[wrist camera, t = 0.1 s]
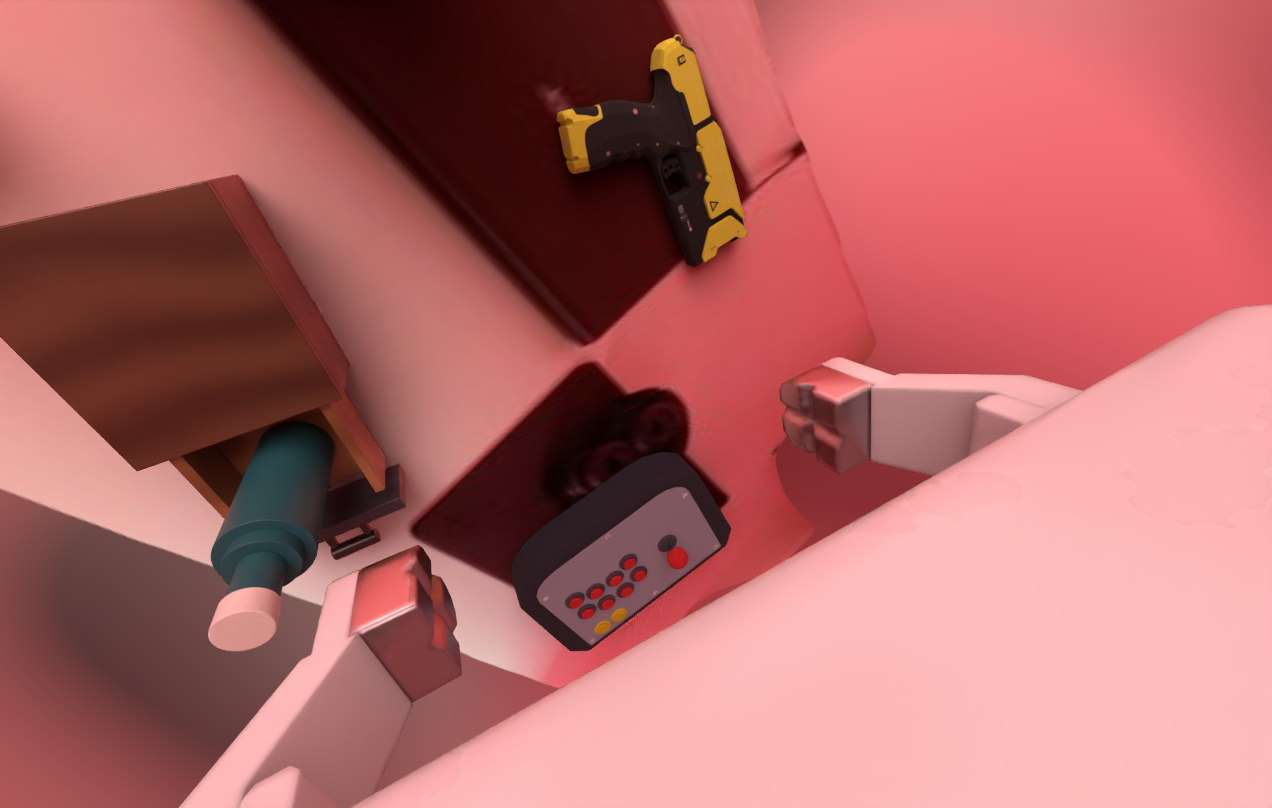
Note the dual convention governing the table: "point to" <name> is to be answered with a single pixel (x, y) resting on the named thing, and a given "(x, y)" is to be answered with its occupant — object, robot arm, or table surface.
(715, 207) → the stun gun
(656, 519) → the arcade joystick
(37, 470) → the table surface
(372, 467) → the drawer
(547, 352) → the table surface
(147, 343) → the cabinet
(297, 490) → the bottle
